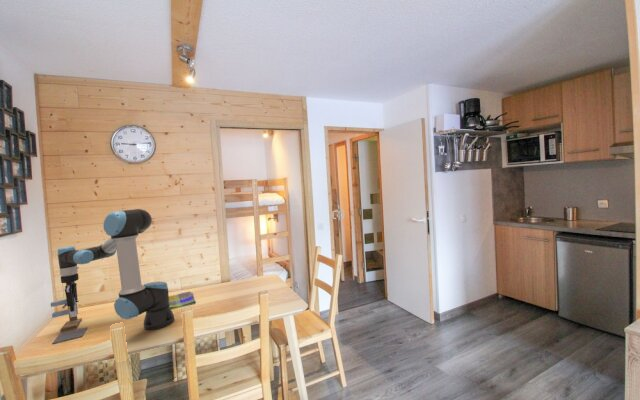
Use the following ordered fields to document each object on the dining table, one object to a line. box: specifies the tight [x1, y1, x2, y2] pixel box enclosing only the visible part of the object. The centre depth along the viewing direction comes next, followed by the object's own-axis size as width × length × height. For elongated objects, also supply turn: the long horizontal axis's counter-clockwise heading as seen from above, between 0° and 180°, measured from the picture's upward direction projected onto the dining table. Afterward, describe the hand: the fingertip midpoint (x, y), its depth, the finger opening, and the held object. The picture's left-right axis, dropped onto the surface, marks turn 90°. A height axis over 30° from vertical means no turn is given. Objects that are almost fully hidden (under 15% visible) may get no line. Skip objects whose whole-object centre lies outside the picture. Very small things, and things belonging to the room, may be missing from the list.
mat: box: [52, 327, 88, 345], centre depth 158 cm, size 12×12×1 cm
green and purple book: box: [169, 291, 196, 311], centre depth 197 cm, size 18×24×3 cm
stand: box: [59, 304, 83, 333], centre depth 169 cm, size 18×7×18 cm, turn 28°
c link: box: [50, 297, 77, 319], centre depth 163 cm, size 10×2×8 cm, turn 118°
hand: (74, 315), depth 166 cm, fingers closed on c link, 2 cm apart
